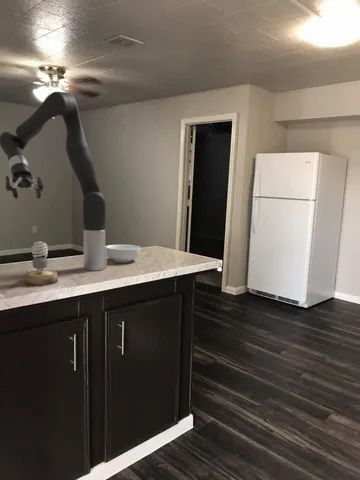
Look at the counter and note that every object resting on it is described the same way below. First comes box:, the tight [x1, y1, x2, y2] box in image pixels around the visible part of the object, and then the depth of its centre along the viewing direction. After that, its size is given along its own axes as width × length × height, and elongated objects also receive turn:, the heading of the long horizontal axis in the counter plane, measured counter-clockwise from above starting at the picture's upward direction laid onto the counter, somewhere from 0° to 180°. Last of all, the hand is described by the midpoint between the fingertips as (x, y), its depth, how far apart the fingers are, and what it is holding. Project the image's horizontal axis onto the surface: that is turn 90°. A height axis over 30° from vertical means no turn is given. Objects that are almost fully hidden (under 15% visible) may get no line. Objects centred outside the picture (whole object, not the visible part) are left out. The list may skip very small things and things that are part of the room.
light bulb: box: [31, 241, 49, 273], centre depth 146 cm, size 6×6×12 cm
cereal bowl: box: [105, 244, 141, 263], centre depth 190 cm, size 17×17×7 cm
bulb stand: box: [22, 270, 58, 287], centre depth 147 cm, size 12×12×3 cm
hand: (27, 197), depth 158 cm, fingers open, 8 cm apart
